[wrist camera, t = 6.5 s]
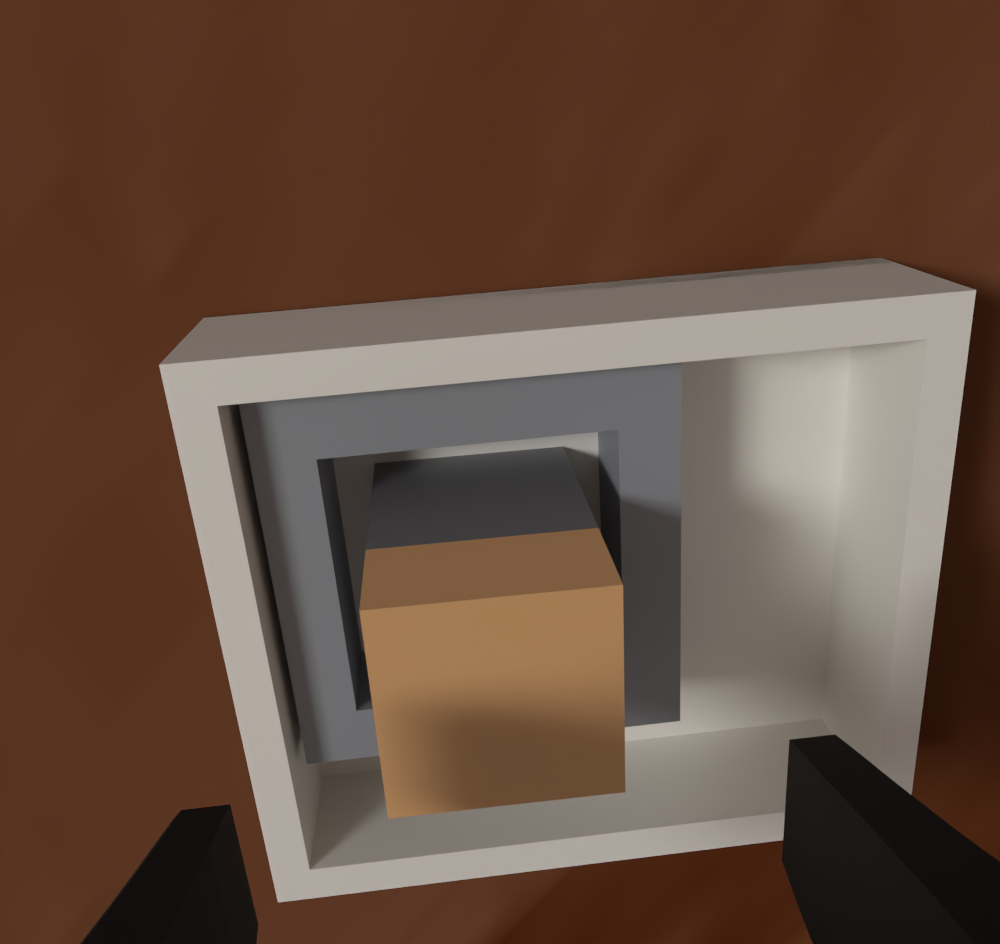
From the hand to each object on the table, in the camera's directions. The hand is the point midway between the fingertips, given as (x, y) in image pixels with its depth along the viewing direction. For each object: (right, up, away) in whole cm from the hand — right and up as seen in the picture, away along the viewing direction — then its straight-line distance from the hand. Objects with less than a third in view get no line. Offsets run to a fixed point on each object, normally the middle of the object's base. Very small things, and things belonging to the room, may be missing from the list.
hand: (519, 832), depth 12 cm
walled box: (+1, +3, +9) cm, 10 cm away
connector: (-1, +3, +8) cm, 9 cm away
